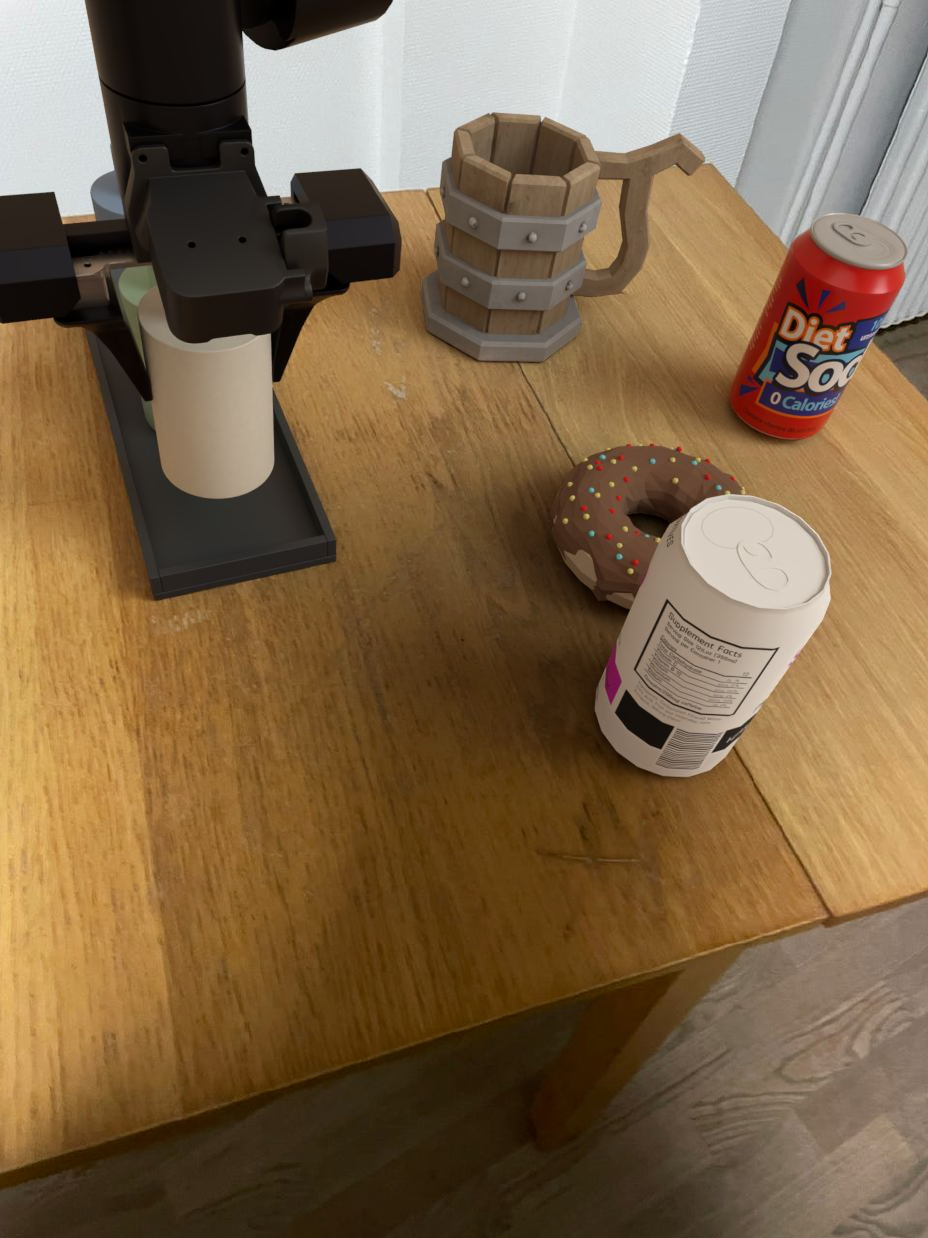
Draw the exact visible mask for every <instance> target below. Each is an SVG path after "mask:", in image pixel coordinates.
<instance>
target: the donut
mask: <svg viewBox="0 0 928 1238" xmlns="http://www.w3.org/2000/svg"><path fill="white" fill-rule="evenodd" d="M682 450H683V449H682V446H676V447H673V446H670V447H665V446H663V445H655V443H650V444H649V445H643V444H642V443H638V444H637V445H632V444H631V443H626V444H625V445H620V446H616V447H613V448H611V447H609V446H608V447H606V448H604V450H603V451H600V452H596V453H594V454H591V455H589V456H588V457H583V458H582V460H581V461H580V462H579V463H578V464H576V465H575V466H573V467H572V468H571V469H570V470H569V471H568V472H567V474H566V476H565V478H564V480H563V482H562V485H561V486H560V488H559V490H558V492H556V497H555V499H554V500H553V502H552V504H551V506H550V508H549V511H548V517H547V520H548V522H549V523H550V526H551V527H552V529H551V530H550V531H551V536H552V539H553V541H554V542H555V545H556V547H557V548H558V550H559V553H560V555H561V557H562V560H563V562H564V563H565V564H566V566H567V567H568V568H569V569H570V571H571V572H572V573H573V574H574V576H576V578H577V579H578V580H579V581H580V582H581V583H582V584H584V585H585V586H586V587H588V588H589V589H590V590H591V592H592V593H593V595H594V597H595V598H596V599H597V601H598V602H603V601H604V602H605V601H606V602H607V601H609V602H612V603H613V604H616V605H618V606H620V607H622V608H624V609H628V610H630V609H631V607H632V604H633V602H634V600H635V597H636V595H637V593H638V590H639V588H640V586H641V583H642V581H643V579H644V576H645V574H646V572H647V569H648V567H649V565H650V562H651V560H652V558H653V555H654V553H655V551H656V548H657V546H658V543H659V542H660V540H661V538H662V537H660V536H656V535H652V534H650V533H646V532H644V531H642V530H641V529H639V528H638V527H636V526H634V524H633V522H632V520H631V518H630V517H629V515H635V514H636V515H637V514H645V515H650V516H654V517H658V518H660V519H662V520H664V521H666V522H668V523H669V524H671V523H673V522H674V521H676V520H677V519H679V518H680V517H682V516H683V515H685V514H687V513H688V512H689V511H690V509H691V508H693V507H694V506H696V505H698V504H699V503H701V502H702V501H704V500H705V499H707V498H712V497H717V496H721V495H726V494H735V495H747V494H746V491H745V490H746V489H745V486H741V485H740V484H739V482H737V480H736V478H735V476H733V475H732V474H729V473H726V472H723V471H722V470H721V469H720V468H719V467H718V466H716V465H714V464H712V463H711V460H710V459H709V458H705V459H702V458H700V457H695V456H692V455H689V454H687V453H684V452H682Z"/></svg>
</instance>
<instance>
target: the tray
mask: <svg viewBox="0 0 928 1238" xmlns="http://www.w3.org/2000/svg"><path fill="white" fill-rule="evenodd" d="M84 333H85V336H86V341H87V344H88V347H89V350H90V355H91V360H92V363H93V367H94V371H95V375H96V378H97V383H98V387H99V391H100V395H101V399H102V402H103V407H104V410H105V413H106V417H107V422H108V426H109V429H110V433H111V437H112V441H113V444H114V449H115V452H116V457H117V460H118V465H119V469H120V472H121V473H120V474H121V477H122V480H123V485H124V488H125V492H126V496H127V500H128V503H129V507H130V513H131V515H132V520H133V524H134V527H135V531H136V535H137V539H138V543H139V545H140V546H139V547H140V550H141V554H142V558H143V561H144V566H145V569H146V574H147V577H148V582H149V585H150V589H151V593H152V597H153V600H154V601H155V602H157V601H161V600H166V599H171V598H176V597H181V596H184V595H189V594H193V593H198V592H202V591H208V590H212V589H215V588H220V587H225V586H230V585H235V584H239V583H244V582H247V581H252V580H258V579H261V578H267V577H271V576H275V575H280V574H285V573H289V572H293V571H298V570H302V569H307V568H311V567H316V566H321V565H325V564H329V563H335V562H337V537H336V535H335V532H334V530H333V527H332V525H331V523H330V521H329V518H328V515H327V514H326V510H325V508H324V507H323V504H322V501H321V499H320V497H319V494H318V491H317V489H316V487H315V484H314V482H313V479H312V478H311V475H310V473H309V470H308V467H307V466H306V463H305V461H304V459H303V456H302V454H301V451H300V448H299V446H298V443H297V442H296V439H295V437H294V434H293V432H292V430H291V427H290V424H289V422H288V420H287V417H286V415H285V413H284V410H283V408H282V406H281V403H280V400H279V398H278V396H277V394H276V391H275V389H274V386H273V385H272V395H273V432H274V466H273V469H272V472H271V474H270V475H269V477H268V478H267V479H266V481H265V482H264V483H263V484H261V485H260V486H259V487H257V488H256V489H254V490H252V491H250V492H248V493H246V494H243V495H240V496H236V497H232V498H224V499H212V498H203V497H199V496H195V495H192V494H189V493H187V492H185V491H183V490H181V489H179V488H178V487H176V486H175V485H174V484H172V483H171V482H170V480H169V479H168V478H167V477H166V475H165V474H164V472H163V469H162V465H161V460H160V453H159V447H158V441H157V435H156V431H155V430H154V429H153V428H152V427H151V426H150V425H149V424H148V422H147V420H146V418H145V414H144V409H143V404H142V399H141V395H140V394H139V393H138V391H137V390H136V388H135V387H134V385H133V384H132V382H131V381H130V379H129V378H128V376H127V375H126V373H125V372H124V370H123V369H122V368H121V366H120V365H119V363H118V362H117V360H116V359H115V357H114V356H113V355H112V353H111V352H110V351H109V349H108V348H107V347H106V346H105V345H104V344H103V343H102V342H101V341H100V340H99V339H98V337H97V336H96V335H95V334H94V333H92V332H91V331H89V330H86V329H84Z"/></svg>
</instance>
